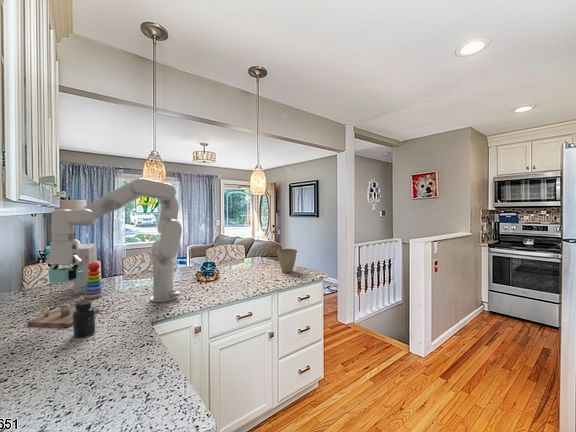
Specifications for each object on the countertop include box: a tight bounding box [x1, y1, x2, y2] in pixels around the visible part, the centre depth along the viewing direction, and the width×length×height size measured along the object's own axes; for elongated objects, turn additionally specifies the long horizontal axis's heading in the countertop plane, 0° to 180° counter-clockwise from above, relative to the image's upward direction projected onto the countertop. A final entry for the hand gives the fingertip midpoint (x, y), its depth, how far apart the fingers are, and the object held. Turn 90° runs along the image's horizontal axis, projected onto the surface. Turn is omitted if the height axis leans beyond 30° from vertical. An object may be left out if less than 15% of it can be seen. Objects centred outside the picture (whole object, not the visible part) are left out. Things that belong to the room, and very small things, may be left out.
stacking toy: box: [84, 262, 103, 300], centre depth 149 cm, size 8×8×19 cm
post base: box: [27, 303, 100, 328], centre depth 121 cm, size 18×16×6 cm
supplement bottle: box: [72, 300, 96, 338], centre depth 106 cm, size 7×7×12 cm
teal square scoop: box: [48, 266, 84, 284], centre depth 123 cm, size 13×7×5 cm, turn 175°
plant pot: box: [276, 248, 298, 273], centre depth 207 cm, size 15×15×16 cm
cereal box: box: [72, 243, 98, 294], centre depth 165 cm, size 22×8×25 cm, turn 25°
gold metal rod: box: [44, 306, 50, 317], centre depth 119 cm, size 1×1×4 cm
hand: (64, 278), depth 120 cm, fingers closed on teal square scoop, 7 cm apart
